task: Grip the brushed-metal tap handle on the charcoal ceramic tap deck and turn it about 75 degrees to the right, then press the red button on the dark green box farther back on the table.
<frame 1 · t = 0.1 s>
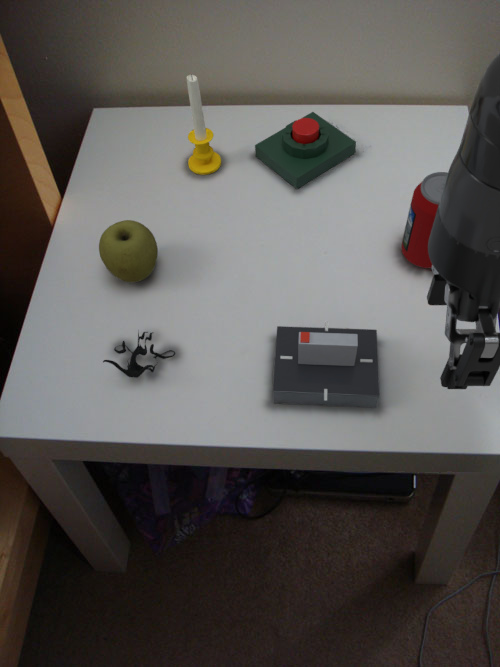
hand: (445, 341, 53), 18 cm above the table, tool pointing down, fingers open, 8 cm apart
beverage can: (425, 253, 82), on the table
button box: (305, 154, 94), on the table
red button: (305, 131, 90), point 4 cm above the table, slide at 0.1 cm
candle: (205, 164, 94), on the table
tap handle: (327, 348, 68), point 5 cm above the table, hinge at 0.0°
tap deck: (324, 372, 73), on the table
creature: (144, 360, 75), on the table
apple: (135, 270, 83), on the table
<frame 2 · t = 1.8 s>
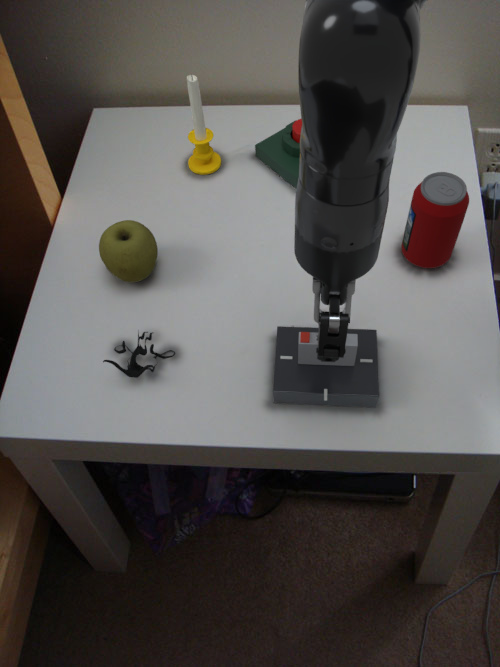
hand: (328, 323, 64), 11 cm above the table, tool pointing down, fingers open, 8 cm apart
nothing on the table moved.
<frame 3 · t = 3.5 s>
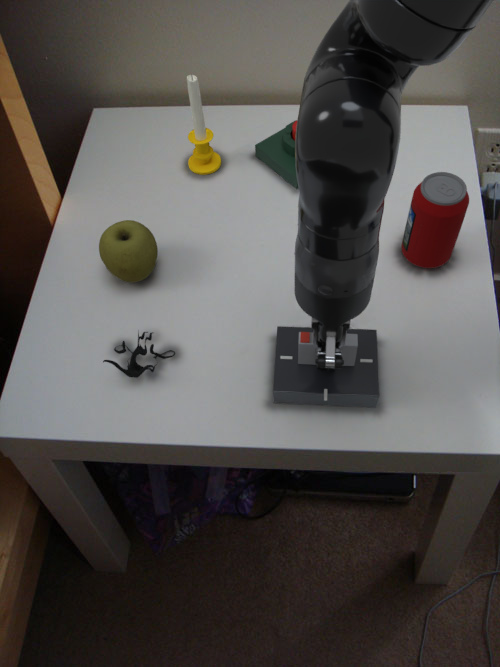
hand: (326, 358, 70), 3 cm above the table, tool pointing down, fingers closed on tap handle
tap handle: (327, 348, 68), point 5 cm above the table, hinge at 0.0°, touching gripper
everything else where it was.
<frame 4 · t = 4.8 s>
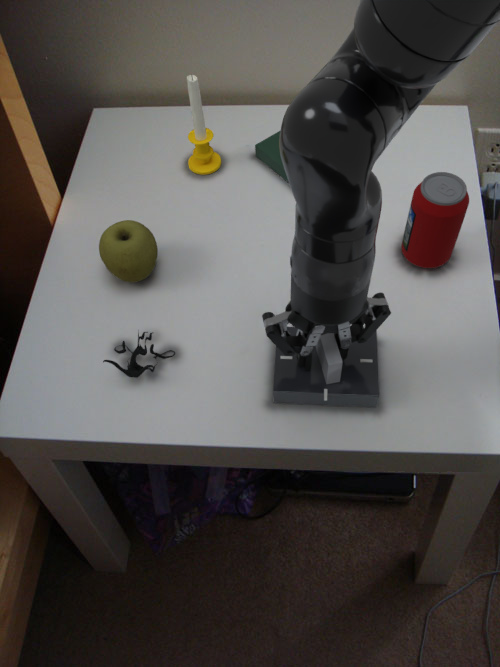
hand: (321, 360, 70), 3 cm above the table, tool pointing down, fingers open, 3 cm apart
tap handle: (327, 348, 68), point 5 cm above the table, hinge at -75.0°
everything else where it was.
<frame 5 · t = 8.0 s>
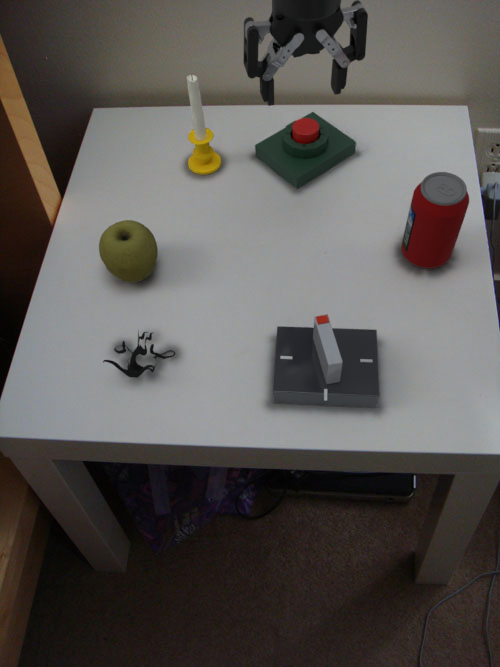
hand: (302, 96, 75), 17 cm above the table, tool pointing down, fingers open, 8 cm apart
nothing on the table moved.
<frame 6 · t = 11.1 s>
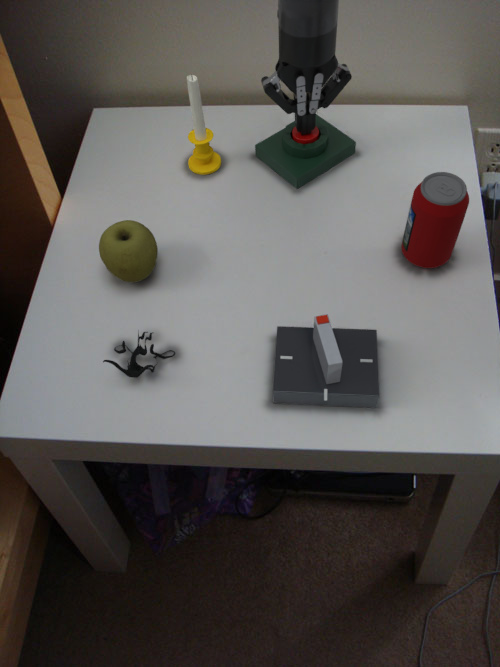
hand: (305, 131, 90), 4 cm above the table, tool pointing down, fingers closed
red button: (305, 135, 91), point 4 cm above the table, slide at -0.8 cm, touching gripper
everything else where it was.
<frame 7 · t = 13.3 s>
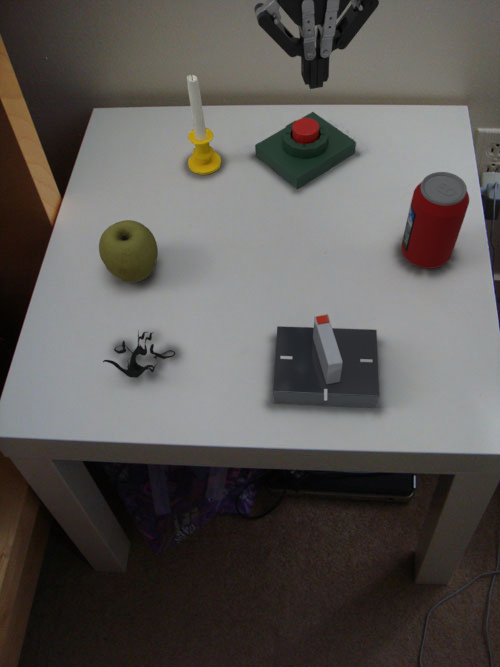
hand: (315, 84, 68), 22 cm above the table, tool pointing down, fingers closed
red button: (305, 131, 90), point 4 cm above the table, slide at 0.1 cm
everything else where it was.
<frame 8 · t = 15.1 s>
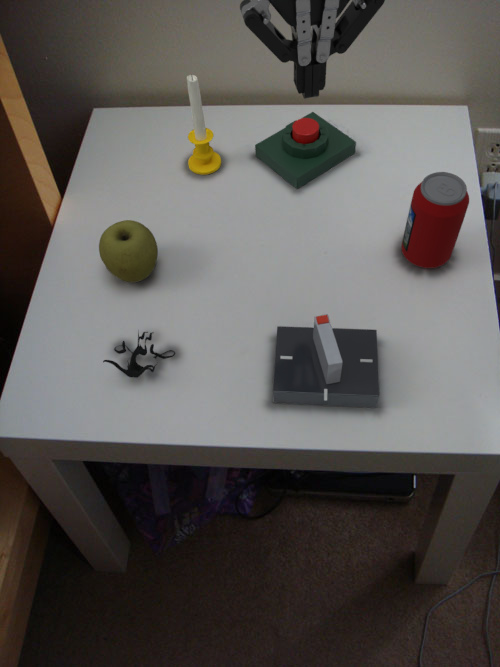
hand: (309, 92, 59), 27 cm above the table, tool pointing down, fingers closed
nothing on the table moved.
at the end: tap handle at -75° (first picture: +0°); red button pushed in 1.0 cm at the most during the clip, back to where it started at the end; red button slide at 0.1 cm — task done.
